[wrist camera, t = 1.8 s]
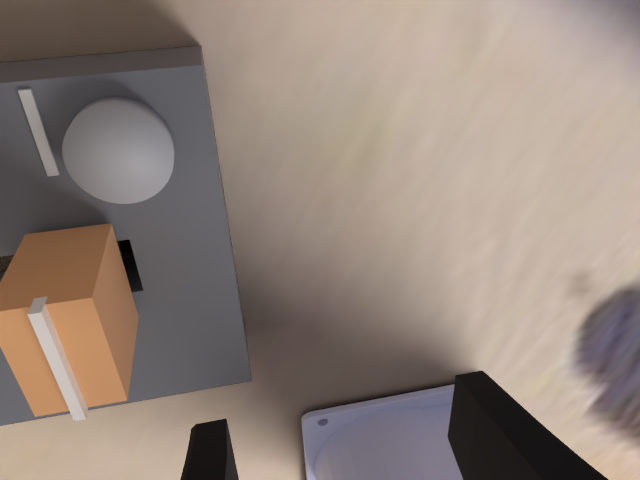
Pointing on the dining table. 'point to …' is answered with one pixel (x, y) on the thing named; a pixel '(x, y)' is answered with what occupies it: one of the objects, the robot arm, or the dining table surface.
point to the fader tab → (69, 320)
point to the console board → (129, 204)
